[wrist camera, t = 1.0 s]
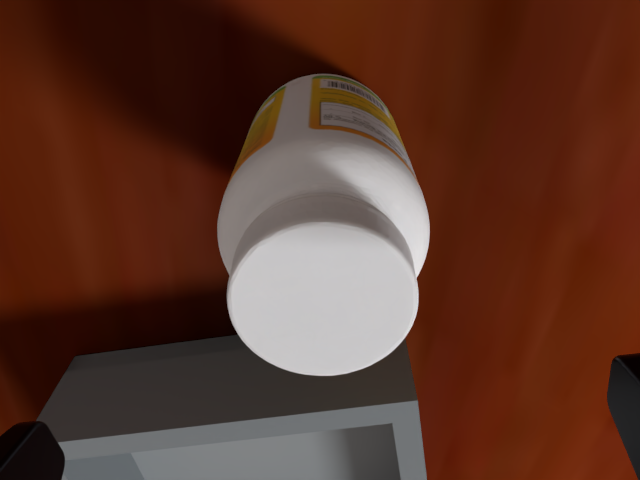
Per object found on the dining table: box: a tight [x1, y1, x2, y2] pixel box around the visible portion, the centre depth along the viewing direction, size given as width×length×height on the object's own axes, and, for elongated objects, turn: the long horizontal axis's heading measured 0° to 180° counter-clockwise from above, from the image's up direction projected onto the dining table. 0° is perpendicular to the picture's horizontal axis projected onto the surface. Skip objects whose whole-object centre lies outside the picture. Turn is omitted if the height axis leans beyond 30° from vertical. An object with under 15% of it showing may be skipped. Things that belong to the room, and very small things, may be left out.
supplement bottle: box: [217, 74, 430, 376], centre depth 15 cm, size 5×5×10 cm
